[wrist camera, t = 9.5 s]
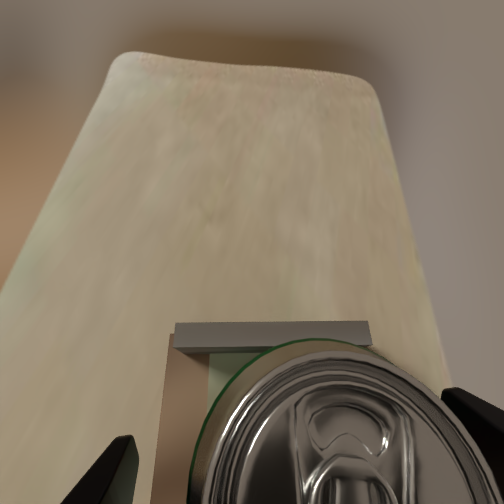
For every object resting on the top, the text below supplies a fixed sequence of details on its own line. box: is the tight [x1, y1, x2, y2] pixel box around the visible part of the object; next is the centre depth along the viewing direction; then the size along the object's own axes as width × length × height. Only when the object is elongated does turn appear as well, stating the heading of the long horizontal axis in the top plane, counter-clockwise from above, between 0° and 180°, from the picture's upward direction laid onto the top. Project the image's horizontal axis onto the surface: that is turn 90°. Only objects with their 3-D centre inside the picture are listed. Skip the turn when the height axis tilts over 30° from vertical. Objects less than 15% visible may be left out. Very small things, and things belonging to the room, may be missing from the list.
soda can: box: [186, 338, 504, 504], centre depth 9 cm, size 5×5×12 cm
